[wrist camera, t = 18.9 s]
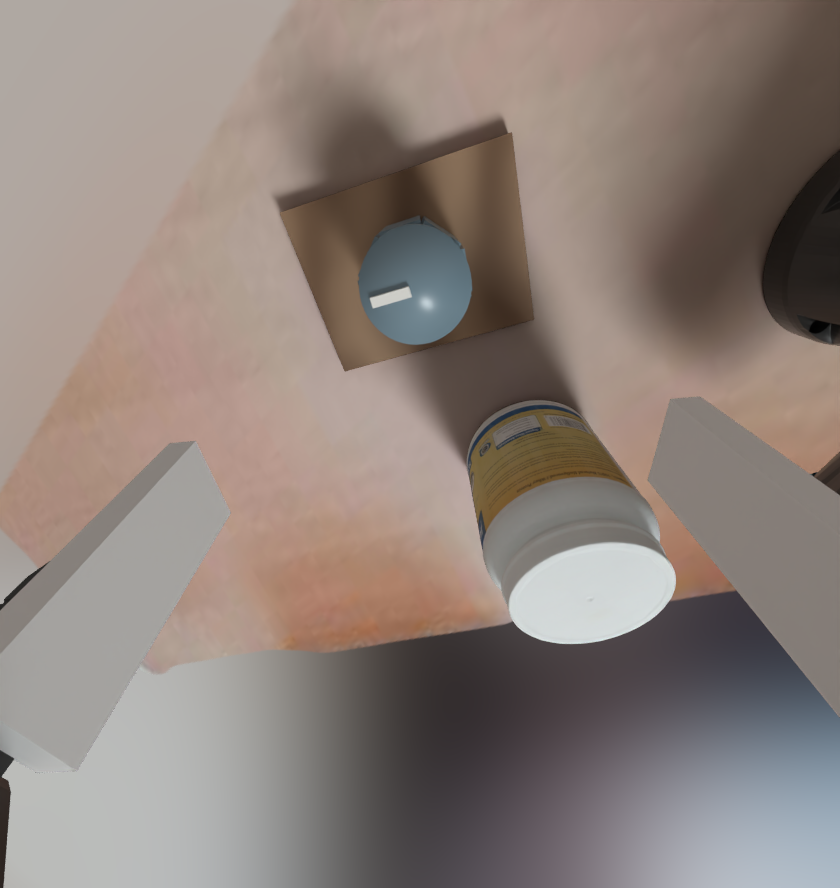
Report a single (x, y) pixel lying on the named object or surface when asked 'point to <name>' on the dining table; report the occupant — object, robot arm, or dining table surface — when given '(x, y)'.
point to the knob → (415, 281)
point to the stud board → (426, 194)
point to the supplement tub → (564, 527)
